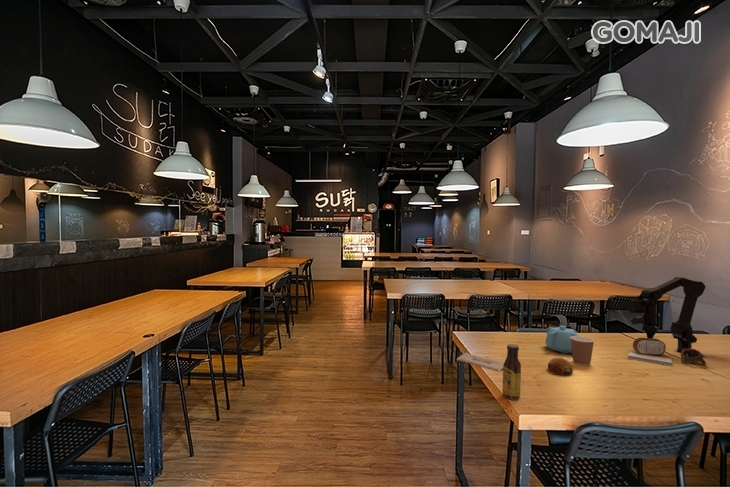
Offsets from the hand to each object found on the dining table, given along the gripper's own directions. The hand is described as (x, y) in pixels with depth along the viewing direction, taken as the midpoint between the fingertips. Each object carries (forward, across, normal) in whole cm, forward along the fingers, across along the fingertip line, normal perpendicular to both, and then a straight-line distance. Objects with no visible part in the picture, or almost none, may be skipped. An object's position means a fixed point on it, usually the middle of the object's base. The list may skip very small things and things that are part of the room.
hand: (649, 341), depth 189 cm
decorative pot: (+6, +29, -37) cm, 48 cm away
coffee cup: (+6, +45, -26) cm, 53 cm away
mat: (+6, +16, 0) cm, 17 cm away
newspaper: (+6, +76, -64) cm, 100 cm away
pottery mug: (+6, +10, +16) cm, 20 cm away
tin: (+6, +7, 0) cm, 9 cm away
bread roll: (+6, +66, -32) cm, 73 cm away
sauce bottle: (+6, +108, -41) cm, 115 cm away
